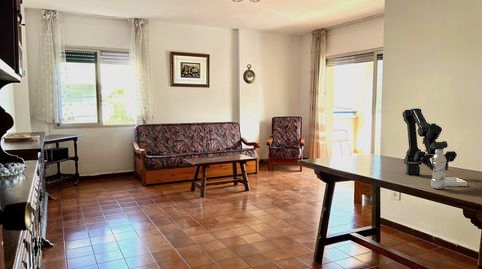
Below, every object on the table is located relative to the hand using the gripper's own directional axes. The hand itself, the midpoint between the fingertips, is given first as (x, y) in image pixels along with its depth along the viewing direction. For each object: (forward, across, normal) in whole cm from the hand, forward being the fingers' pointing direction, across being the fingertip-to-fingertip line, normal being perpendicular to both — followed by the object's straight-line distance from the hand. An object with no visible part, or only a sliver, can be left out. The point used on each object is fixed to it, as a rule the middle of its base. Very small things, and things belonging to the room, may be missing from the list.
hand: (439, 170), depth 172 cm
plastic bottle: (+6, 0, +8) cm, 10 cm away
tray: (-1, +10, +15) cm, 18 cm away
